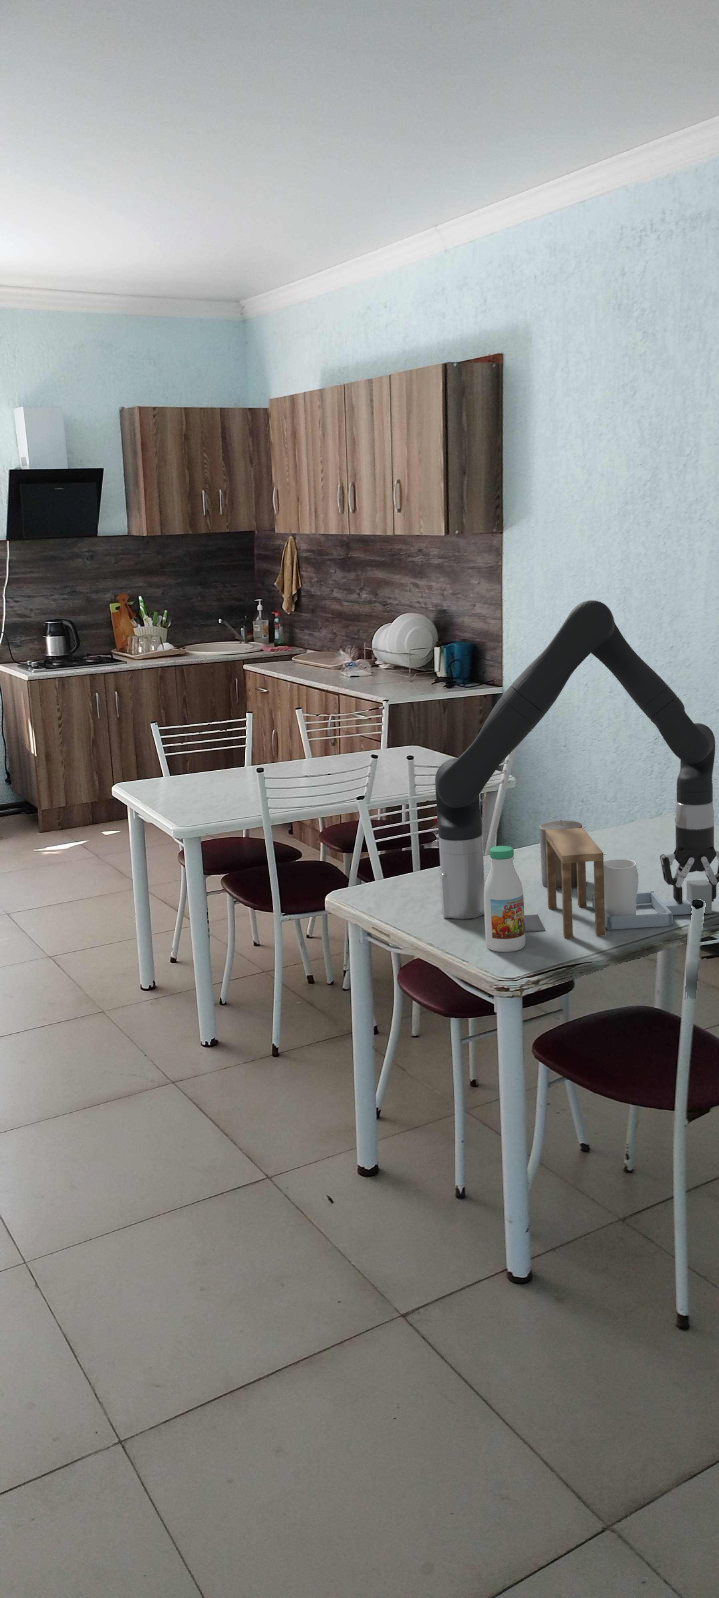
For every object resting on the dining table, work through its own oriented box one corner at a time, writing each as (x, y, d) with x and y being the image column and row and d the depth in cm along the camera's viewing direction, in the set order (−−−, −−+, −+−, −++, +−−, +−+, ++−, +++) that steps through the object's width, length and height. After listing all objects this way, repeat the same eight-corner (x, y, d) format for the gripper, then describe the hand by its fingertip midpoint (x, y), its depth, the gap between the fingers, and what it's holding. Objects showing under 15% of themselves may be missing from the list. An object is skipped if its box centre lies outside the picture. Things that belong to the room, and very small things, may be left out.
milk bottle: (479, 950, 228) (474, 851, 224) (497, 937, 234) (492, 841, 230) (514, 955, 224) (510, 855, 220) (532, 942, 230) (528, 844, 226)
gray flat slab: (516, 933, 236) (516, 932, 236) (509, 917, 246) (509, 916, 246) (545, 931, 236) (545, 930, 236) (537, 915, 246) (537, 914, 246)
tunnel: (564, 938, 231) (562, 855, 227) (548, 906, 251) (545, 830, 247) (605, 935, 231) (603, 853, 227) (585, 904, 251) (583, 827, 247)
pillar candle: (593, 883, 264) (591, 819, 261) (559, 892, 260) (557, 827, 256) (565, 875, 273) (563, 812, 269) (532, 883, 268) (529, 819, 265)
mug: (625, 927, 235) (624, 870, 232) (597, 921, 240) (595, 865, 237) (652, 913, 242) (651, 858, 239) (624, 908, 246) (623, 853, 244)
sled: (607, 929, 233) (607, 901, 232) (592, 906, 248) (591, 879, 247) (720, 922, 233) (720, 893, 232) (698, 899, 248) (698, 871, 247)
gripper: (664, 830, 233) (665, 910, 237) (736, 825, 233) (735, 905, 237) (654, 820, 240) (655, 898, 244) (724, 815, 240) (724, 894, 244)
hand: (694, 901), depth 240 cm, fingers closed on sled, 5 cm apart
